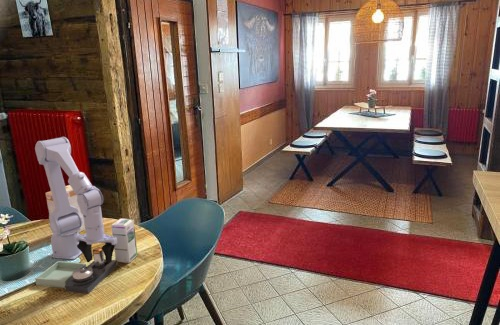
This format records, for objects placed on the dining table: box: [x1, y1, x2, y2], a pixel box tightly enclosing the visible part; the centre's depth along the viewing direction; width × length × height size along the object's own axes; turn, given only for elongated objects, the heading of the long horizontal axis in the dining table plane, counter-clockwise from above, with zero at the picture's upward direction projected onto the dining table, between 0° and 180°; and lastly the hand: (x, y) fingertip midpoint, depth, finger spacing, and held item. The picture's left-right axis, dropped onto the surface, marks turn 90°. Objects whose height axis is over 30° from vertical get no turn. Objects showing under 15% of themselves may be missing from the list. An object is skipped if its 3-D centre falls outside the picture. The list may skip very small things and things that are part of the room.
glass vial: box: [92, 246, 105, 269], centre depth 131 cm, size 3×3×8 cm
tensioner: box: [64, 258, 118, 294], centre depth 127 cm, size 8×17×6 cm, turn 168°
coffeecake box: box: [45, 184, 85, 233], centre depth 161 cm, size 15×7×20 cm, turn 150°
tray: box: [34, 260, 87, 289], centre depth 128 cm, size 11×11×2 cm
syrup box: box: [111, 218, 138, 264], centre depth 138 cm, size 6×6×14 cm
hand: (99, 261), depth 131 cm, fingers open, 7 cm apart
